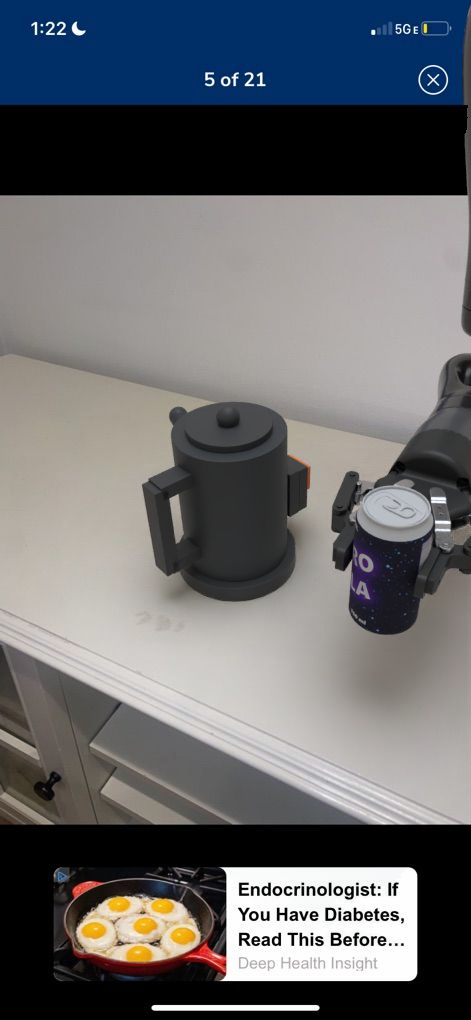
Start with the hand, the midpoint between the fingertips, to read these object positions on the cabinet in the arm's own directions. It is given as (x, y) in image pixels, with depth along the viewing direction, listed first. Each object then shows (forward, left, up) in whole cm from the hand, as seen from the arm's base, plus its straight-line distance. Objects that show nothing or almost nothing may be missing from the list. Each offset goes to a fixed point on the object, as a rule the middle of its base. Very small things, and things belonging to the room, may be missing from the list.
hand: (378, 575), depth 47 cm
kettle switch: (-5, -27, -11) cm, 30 cm away
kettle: (+5, -25, -17) cm, 31 cm away
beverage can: (-2, -2, -7) cm, 8 cm away
